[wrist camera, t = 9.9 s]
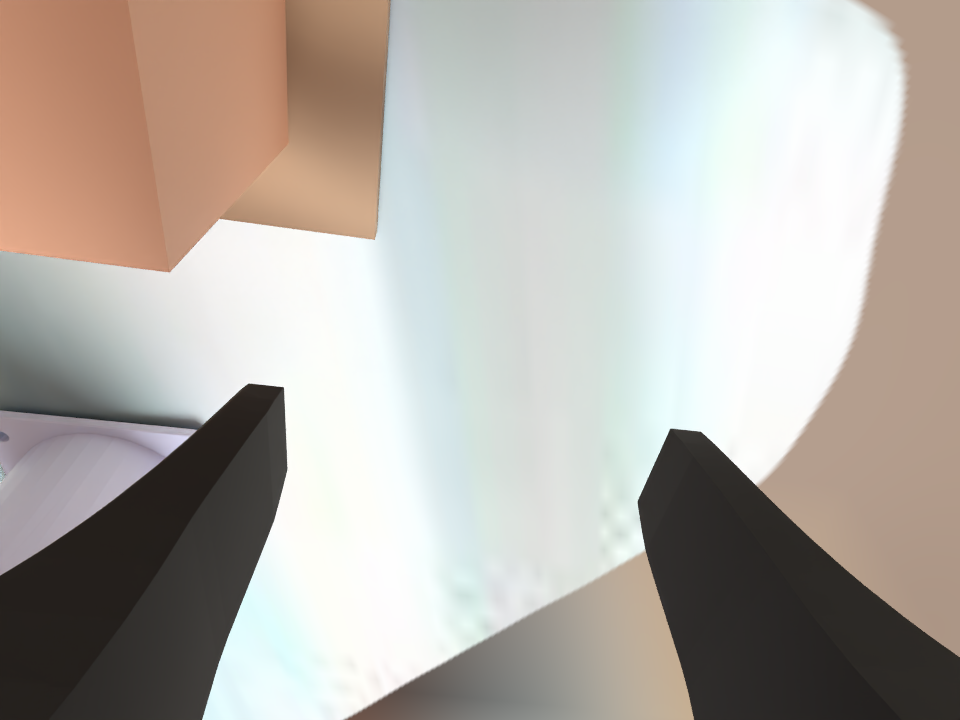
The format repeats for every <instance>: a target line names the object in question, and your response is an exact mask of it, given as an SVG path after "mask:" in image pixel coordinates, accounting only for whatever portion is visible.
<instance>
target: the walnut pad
mask: <svg viewBox="0 0 960 720" xmlns="http://www.w3.org/2000/svg"><path fill="white" fill-rule="evenodd" d="M390 1H391V0H285V13H286V55H287V97H288V139H289V144H288V145H287V146H286V147H285V148H284V149H283V150H282V151H281V152H280V153H279V154H278V156H277V157H276V158H275V159H274V160H273V161H272V162H271V163H270V164H269V165H268V166H267V167H266V169H265V170H264V171H263V172H262V173H261V174H260V175H259V176H258V177H257V178H256V179H255V180H254V182H253V183H252V184H251V185H250V186H249V187H248V188H247V189H246V190H245V191H244V192H243V193H242V195H241V196H240V197H239V198H238V199H237V200H236V201H235V202H234V203H233V204H232V205H231V206H230V208H229V209H228V210H227V211H226V212H225V213H224V214H223V215H222V216H221V217H220V218H219V219H225V220H233V221H240V222H247V223H255V224H262V225H270V226H277V227H284V228H292V229H299V230H307V231H314V232H321V233H329V234H336V235H344V236H351V237H358V238H366V239H373V240H375V236H376V233H377V222H378V205H379V188H380V171H381V154H382V137H383V120H384V103H385V86H386V69H387V52H388V35H389V18H390Z"/></svg>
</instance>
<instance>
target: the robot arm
mask: <svg viewBox="0 0 960 720" xmlns="http://www.w3.org/2000/svg"><path fill="white" fill-rule="evenodd" d="M0 463H1V466H2V468H3V470H4V473H5V475H6V477H5V478H4V479H3V480H2V481H1V483H0V720H202V718H203V715H204V711H205V708H206V704H207V701H208V698H209V694H210V691H211V687H212V684H213V681H214V677H215V674H216V670H217V667H218V664H219V661H220V658H221V655H222V652H223V650H224V647H225V644H226V641H227V638H228V636H229V633H230V631H231V628H232V626H233V623H234V621H235V618H236V615H237V613H238V610H239V608H240V605H241V603H242V600H243V598H244V595H245V593H246V590H247V588H248V585H249V583H250V580H251V578H252V575H253V573H254V570H255V568H256V565H257V563H258V560H259V558H260V555H261V553H262V550H263V547H264V545H265V542H266V540H267V537H268V535H269V532H270V530H271V527H272V524H273V522H274V519H275V515H276V511H277V508H278V504H279V500H280V496H281V493H282V489H283V485H284V481H285V477H286V473H287V449H286V426H285V403H284V387H276V386H266V385H257V384H247V385H246V386H245V387H243V388H242V389H241V390H240V391H239V392H238V393H237V394H236V395H235V396H233V397H232V398H231V399H230V400H229V401H228V402H227V403H226V404H225V405H224V406H223V407H222V408H221V409H220V410H219V411H218V412H216V413H215V414H214V415H213V416H212V417H211V418H210V419H209V420H208V421H207V422H206V423H205V424H203V425H202V426H201V427H200V428H199V429H198V430H195V429H185V428H175V427H165V426H155V425H144V424H134V423H124V422H114V421H103V420H93V419H83V418H73V417H62V416H52V415H42V414H32V413H22V412H11V411H1V410H0ZM638 508H639V515H640V521H641V528H642V533H643V539H644V544H645V549H646V553H647V557H648V560H649V564H650V567H651V570H652V574H653V577H654V580H655V584H656V587H657V590H658V593H659V596H660V600H661V603H662V606H663V609H664V612H665V615H666V619H667V622H668V625H669V628H670V631H671V634H672V638H673V641H674V644H675V647H676V650H677V653H678V657H679V660H680V663H681V667H682V670H683V674H684V678H685V681H686V685H687V689H688V693H689V697H690V702H691V706H692V712H693V716H694V720H960V657H958V656H957V655H955V654H954V653H953V652H951V651H950V650H948V649H947V648H946V647H944V646H943V645H941V644H940V643H939V642H937V641H936V640H934V639H933V638H932V637H930V636H929V635H927V634H926V633H925V632H923V631H922V630H921V629H919V628H918V627H917V626H915V625H914V624H913V623H911V622H910V621H909V620H907V619H906V618H905V617H903V616H902V615H901V614H900V613H898V612H897V611H896V610H895V609H893V608H892V607H891V606H889V605H888V604H887V603H886V602H885V601H883V600H882V599H881V598H880V597H878V596H877V595H876V594H874V593H873V592H872V591H871V590H869V589H868V588H867V587H866V586H864V585H863V584H862V583H861V582H859V581H858V580H857V579H856V578H855V577H854V576H853V575H851V574H850V573H849V572H848V571H847V570H845V569H844V568H843V567H842V566H841V565H840V564H839V563H838V562H836V561H835V560H834V559H833V558H832V557H831V556H830V555H829V554H827V553H826V552H825V551H824V550H823V549H822V548H821V547H820V546H818V545H817V544H816V543H815V542H814V541H813V540H812V539H811V538H809V536H807V535H806V534H805V533H804V532H803V531H802V530H801V529H800V528H799V527H798V526H797V525H796V524H795V523H794V522H793V521H791V520H790V519H789V518H788V517H787V516H786V515H785V514H784V513H783V512H782V511H781V510H780V509H779V508H778V507H777V506H776V505H775V504H774V503H773V502H772V501H771V500H770V499H769V498H768V497H767V496H766V495H765V494H764V493H763V492H762V491H761V490H760V489H759V488H758V487H757V486H756V485H755V484H754V483H753V482H752V481H751V480H750V479H749V478H748V477H747V476H746V475H745V474H744V473H743V472H742V471H741V470H740V469H739V468H738V467H737V466H736V465H735V464H734V463H733V462H732V461H731V460H730V459H729V458H728V457H727V456H726V455H725V454H724V453H723V452H722V451H721V450H720V449H719V448H718V447H717V446H716V445H715V444H714V443H713V442H712V441H710V440H709V439H708V438H707V437H706V436H705V435H704V434H703V433H702V432H697V431H688V430H678V429H670V431H669V433H668V435H667V438H666V440H665V442H664V444H663V446H662V449H661V451H660V453H659V455H658V457H657V460H656V462H655V464H654V466H653V469H652V471H651V473H650V475H649V477H648V480H647V482H646V484H645V486H644V488H643V491H642V493H641V495H640V497H639V500H638Z"/></svg>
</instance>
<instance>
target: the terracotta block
mask: <svg viewBox="0 0 960 720" xmlns="http://www.w3.org/2000/svg"><path fill="white" fill-rule="evenodd" d="M288 144H289V139H288V97H287V55H286V13H285V0H0V251H8V252H16V253H24V254H31V255H39V256H47V257H55V258H62V259H70V260H78V261H86V262H93V263H101V264H109V265H117V266H124V267H132V268H140V269H148V270H155V271H163V272H170V271H171V270H172V269H173V268H174V267H175V266H176V265H177V264H178V263H179V262H180V261H181V260H182V258H183V257H184V256H185V255H186V254H187V253H188V252H189V251H190V250H191V249H192V248H193V247H194V245H195V244H196V243H197V242H198V241H199V240H200V239H201V238H202V237H203V236H204V235H205V234H206V232H207V231H208V230H209V229H210V228H211V227H212V226H213V225H214V224H215V223H216V222H217V221H218V219H219V218H220V217H221V216H222V215H223V214H224V213H225V212H226V211H227V210H228V209H229V208H230V206H231V205H232V204H233V203H234V202H235V201H236V200H237V199H238V198H239V197H240V196H241V195H242V193H243V192H244V191H245V190H246V189H247V188H248V187H249V186H250V185H251V184H252V183H253V182H254V180H255V179H256V178H257V177H258V176H259V175H260V174H261V173H262V172H263V171H264V170H265V169H266V167H267V166H268V165H269V164H270V163H271V162H272V161H273V160H274V159H275V158H276V157H277V156H278V154H279V153H280V152H281V151H282V150H283V149H284V148H285V147H286V146H287V145H288Z"/></svg>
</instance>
